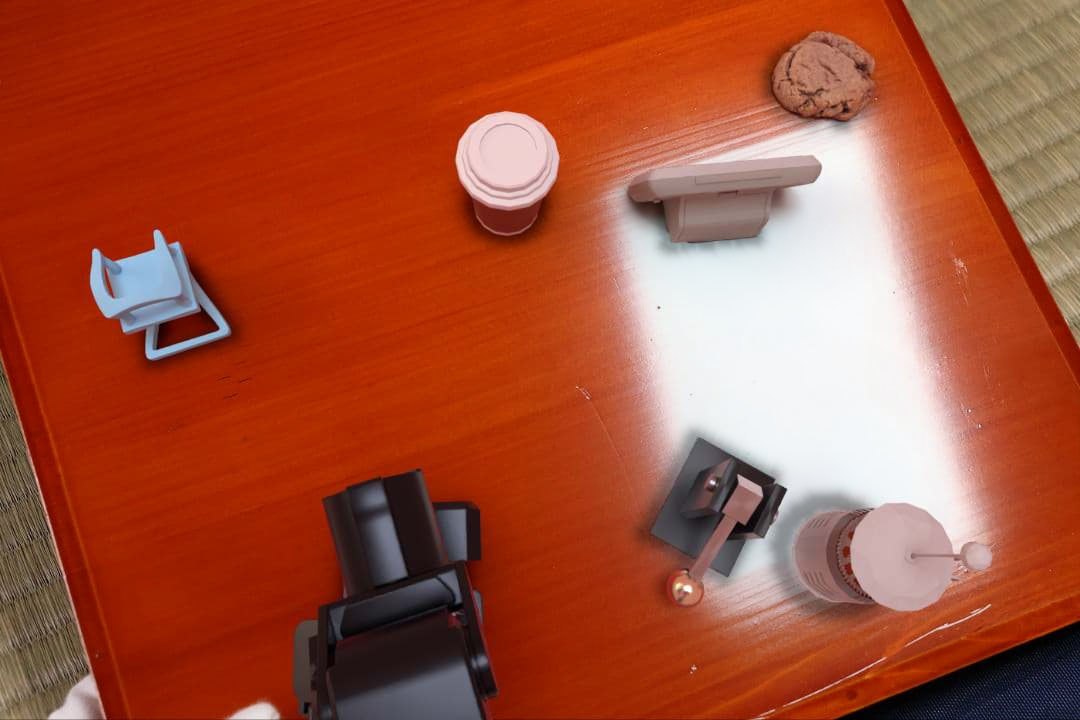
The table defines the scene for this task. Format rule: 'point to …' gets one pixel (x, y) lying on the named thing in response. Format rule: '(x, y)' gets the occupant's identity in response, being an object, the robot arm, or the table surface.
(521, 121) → the coffee cup
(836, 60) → the cookie
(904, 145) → the table surface
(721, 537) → the switch lever
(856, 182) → the table surface
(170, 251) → the chair
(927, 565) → the french press
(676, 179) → the digital clock
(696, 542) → the switch bracket
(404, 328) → the table surface
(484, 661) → the robot arm
